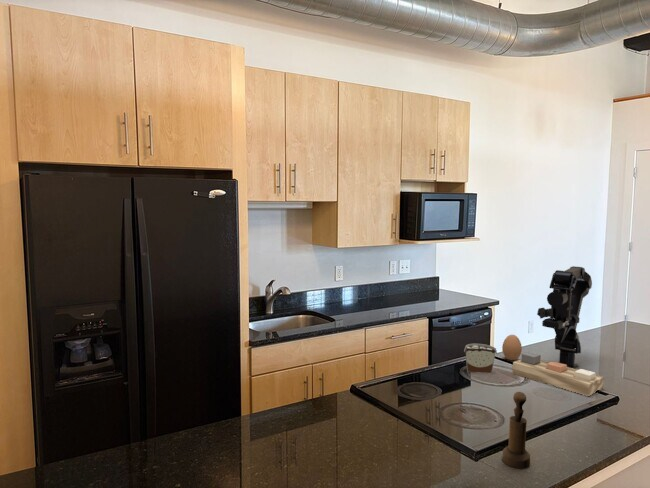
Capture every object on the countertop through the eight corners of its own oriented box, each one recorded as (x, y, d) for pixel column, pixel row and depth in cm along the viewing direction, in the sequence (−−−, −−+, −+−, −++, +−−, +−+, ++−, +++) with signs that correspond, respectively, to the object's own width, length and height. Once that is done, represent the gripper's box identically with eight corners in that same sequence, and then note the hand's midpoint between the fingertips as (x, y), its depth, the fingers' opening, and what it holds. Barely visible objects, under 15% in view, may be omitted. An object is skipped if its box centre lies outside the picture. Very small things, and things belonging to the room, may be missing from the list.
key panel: (528, 367, 195) (528, 356, 195) (602, 389, 174) (603, 376, 173) (512, 373, 188) (513, 362, 187) (588, 397, 166) (589, 384, 166)
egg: (522, 359, 205) (524, 334, 204) (518, 364, 199) (520, 338, 198) (503, 356, 209) (505, 331, 208) (499, 360, 203) (501, 335, 202)
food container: (492, 368, 193) (493, 344, 192) (495, 374, 187) (497, 348, 186) (460, 366, 194) (461, 342, 193) (463, 372, 188) (464, 346, 187)
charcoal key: (527, 359, 192) (528, 351, 191) (540, 362, 188) (540, 354, 187) (521, 361, 188) (521, 353, 188) (533, 365, 185) (534, 357, 184)
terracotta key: (552, 368, 184) (553, 361, 184) (566, 372, 180) (566, 364, 180) (546, 371, 181) (547, 363, 181) (560, 375, 177) (560, 367, 177)
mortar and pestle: (497, 455, 126) (501, 387, 124) (521, 454, 126) (526, 387, 125) (509, 469, 119) (513, 397, 118) (534, 468, 120) (539, 397, 118)
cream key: (580, 376, 176) (580, 368, 176) (595, 380, 172) (595, 372, 172) (574, 379, 173) (574, 371, 173) (588, 383, 169) (589, 375, 169)
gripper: (553, 297, 200) (550, 334, 201) (530, 302, 188) (527, 341, 189) (581, 301, 191) (578, 340, 193) (559, 307, 179) (556, 348, 181)
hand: (559, 342), depth 189 cm, fingers closed
